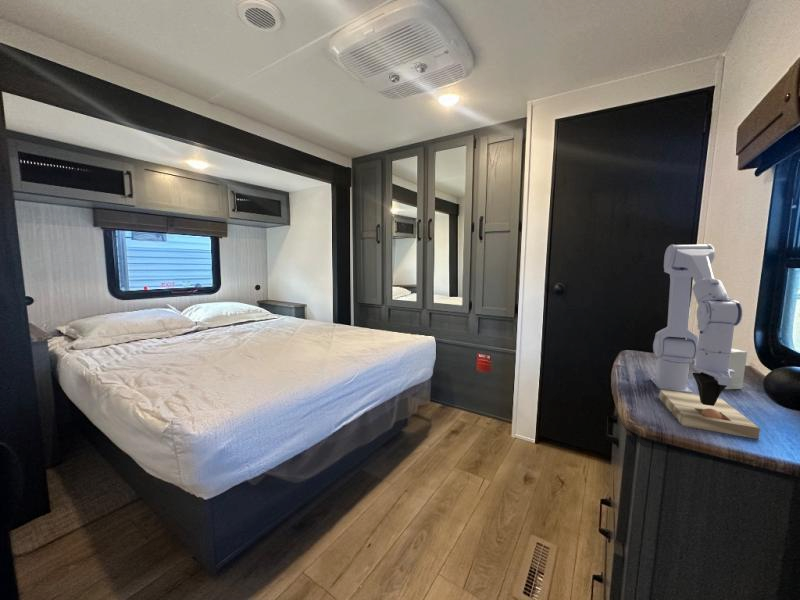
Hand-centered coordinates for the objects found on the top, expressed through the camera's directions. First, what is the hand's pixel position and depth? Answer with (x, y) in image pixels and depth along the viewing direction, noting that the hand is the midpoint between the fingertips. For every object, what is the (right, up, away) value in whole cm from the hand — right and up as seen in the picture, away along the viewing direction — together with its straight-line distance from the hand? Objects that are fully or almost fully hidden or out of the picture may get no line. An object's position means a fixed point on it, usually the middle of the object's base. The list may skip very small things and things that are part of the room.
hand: (707, 404), depth 78 cm
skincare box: (+27, -2, +22) cm, 35 cm away
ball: (-1, -2, -2) cm, 3 cm away
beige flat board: (+1, -4, +2) cm, 4 cm away
